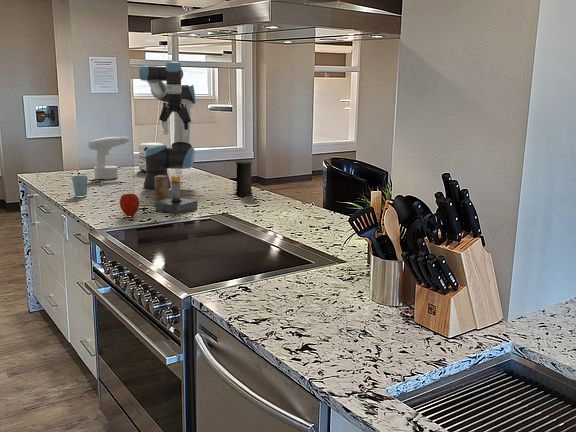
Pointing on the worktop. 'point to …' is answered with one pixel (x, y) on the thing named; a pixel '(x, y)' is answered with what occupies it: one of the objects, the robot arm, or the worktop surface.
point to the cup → (80, 185)
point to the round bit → (175, 188)
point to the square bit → (161, 187)
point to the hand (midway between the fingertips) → (175, 135)
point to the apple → (129, 204)
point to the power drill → (102, 150)
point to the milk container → (144, 154)
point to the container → (244, 178)
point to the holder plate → (176, 205)
